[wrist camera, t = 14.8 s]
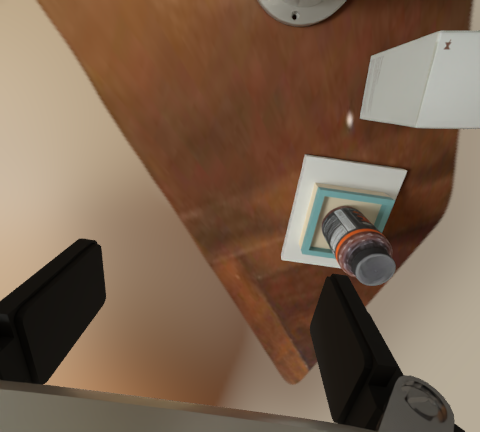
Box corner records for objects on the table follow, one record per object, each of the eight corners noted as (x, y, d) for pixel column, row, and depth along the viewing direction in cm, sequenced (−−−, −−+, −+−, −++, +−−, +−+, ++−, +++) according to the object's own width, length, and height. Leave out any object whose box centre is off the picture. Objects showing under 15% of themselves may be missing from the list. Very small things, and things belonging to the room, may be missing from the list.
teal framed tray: (305, 154, 36) (311, 160, 32) (402, 168, 36) (421, 176, 32) (280, 255, 43) (283, 271, 39) (362, 267, 43) (374, 284, 39)
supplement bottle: (372, 219, 36) (420, 266, 26) (341, 248, 38) (375, 303, 28) (340, 196, 35) (378, 235, 25) (311, 227, 37) (334, 276, 27)
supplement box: (357, 119, 34) (412, 129, 22) (370, 54, 31) (440, 26, 19) (414, 120, 34) (499, 130, 22) (432, 54, 31) (541, 27, 19)
